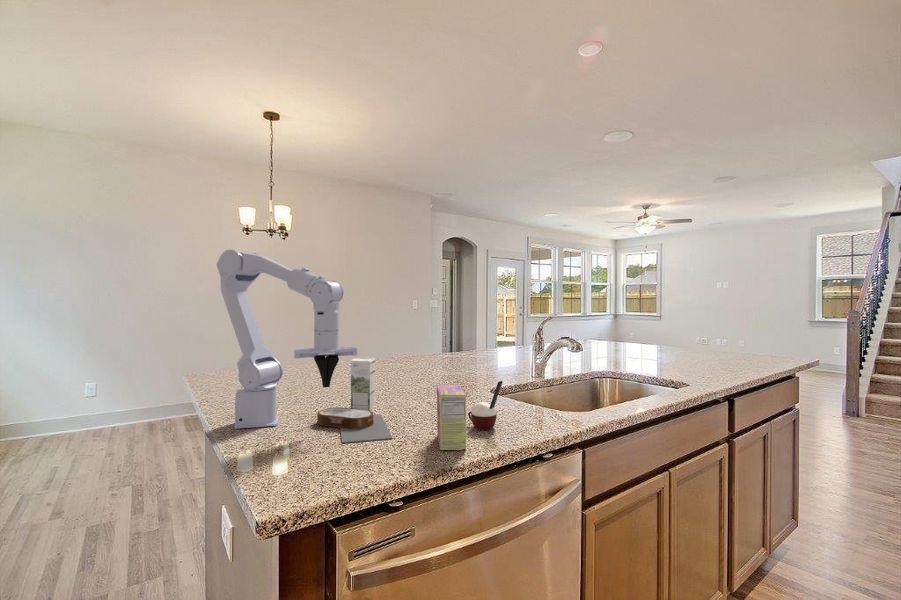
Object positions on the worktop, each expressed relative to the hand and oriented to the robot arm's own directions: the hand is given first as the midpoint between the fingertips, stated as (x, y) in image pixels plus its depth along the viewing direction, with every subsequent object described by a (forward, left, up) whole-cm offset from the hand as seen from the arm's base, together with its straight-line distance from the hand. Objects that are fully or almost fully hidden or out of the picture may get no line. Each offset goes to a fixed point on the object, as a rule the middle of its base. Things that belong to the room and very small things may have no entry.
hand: (326, 386), depth 105 cm
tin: (+2, 0, -8) cm, 9 cm away
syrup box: (+10, +16, -11) cm, 22 cm away
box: (+26, -18, -11) cm, 33 cm away
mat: (+9, -2, -10) cm, 14 cm away
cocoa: (+37, -10, -11) cm, 40 cm away
